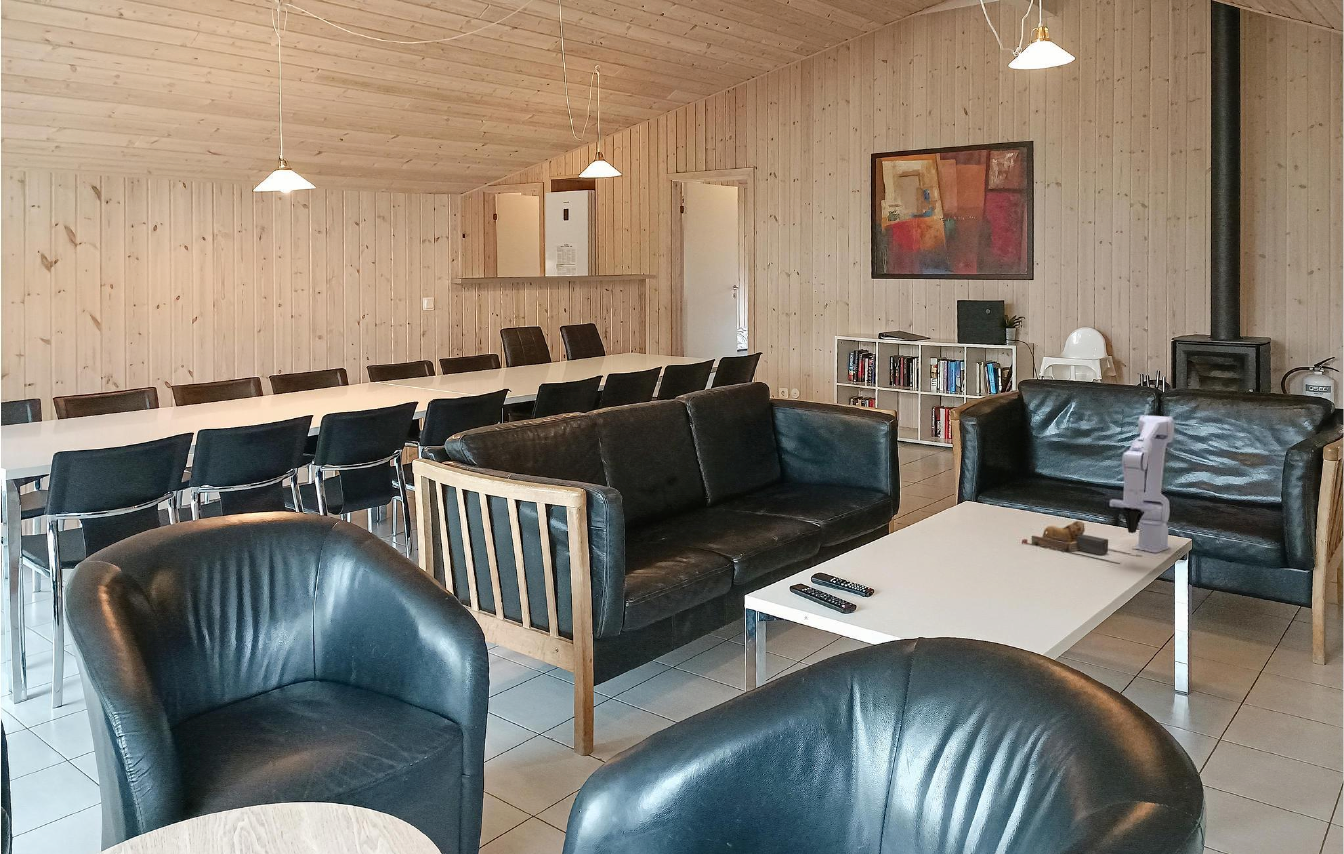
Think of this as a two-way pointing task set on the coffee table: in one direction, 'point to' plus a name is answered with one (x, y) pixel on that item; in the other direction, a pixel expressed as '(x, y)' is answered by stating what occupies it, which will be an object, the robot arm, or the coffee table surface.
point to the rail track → (1076, 553)
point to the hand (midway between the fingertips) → (1132, 532)
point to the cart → (1075, 544)
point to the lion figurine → (1065, 531)
